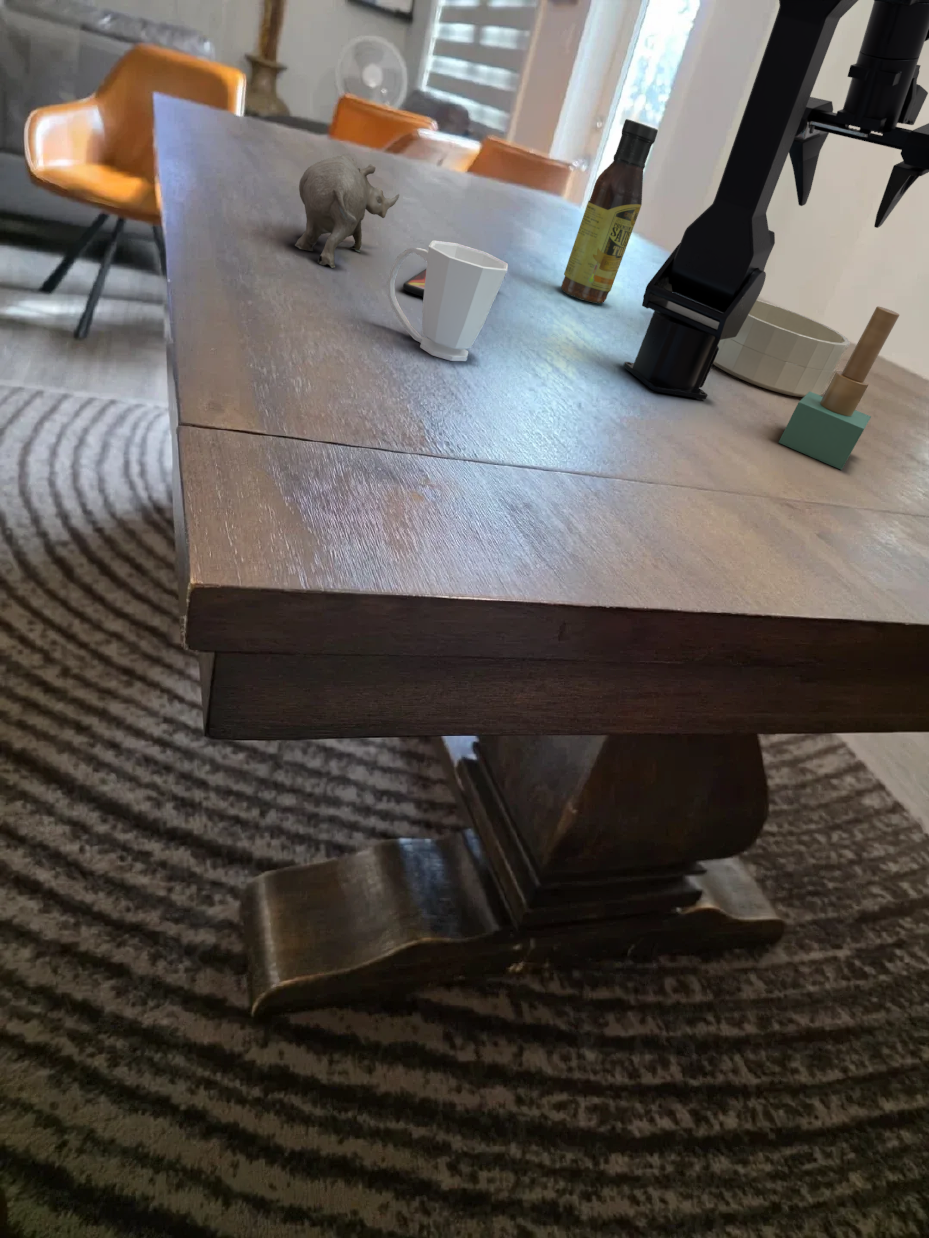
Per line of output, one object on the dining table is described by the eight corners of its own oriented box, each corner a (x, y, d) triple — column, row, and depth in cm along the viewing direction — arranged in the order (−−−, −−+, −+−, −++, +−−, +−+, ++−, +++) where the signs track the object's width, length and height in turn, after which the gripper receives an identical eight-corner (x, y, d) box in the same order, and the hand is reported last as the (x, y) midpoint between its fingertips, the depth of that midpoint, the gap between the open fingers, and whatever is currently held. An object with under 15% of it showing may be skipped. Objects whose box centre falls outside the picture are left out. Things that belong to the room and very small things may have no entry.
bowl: (745, 390, 92) (773, 331, 88) (672, 340, 103) (695, 285, 99) (847, 408, 98) (877, 353, 95) (768, 358, 109) (792, 307, 106)
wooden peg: (834, 414, 76) (888, 313, 71) (813, 400, 78) (863, 301, 74) (858, 418, 77) (912, 319, 73) (836, 404, 80) (888, 307, 75)
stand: (778, 442, 78) (798, 401, 76) (789, 430, 83) (809, 391, 81) (841, 470, 77) (864, 429, 75) (849, 455, 82) (871, 416, 79)
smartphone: (401, 283, 86) (434, 261, 98) (399, 291, 86) (433, 268, 99) (472, 305, 85) (496, 280, 98) (470, 314, 86) (494, 288, 98)
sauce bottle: (594, 308, 105) (656, 128, 95) (550, 289, 107) (606, 112, 97) (613, 304, 111) (674, 134, 100) (572, 287, 113) (627, 118, 102)
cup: (461, 373, 70) (489, 272, 66) (359, 329, 72) (379, 228, 68) (496, 360, 76) (523, 267, 71) (400, 319, 78) (421, 226, 74)
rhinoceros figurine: (256, 221, 83) (322, 86, 84) (282, 283, 97) (338, 167, 98) (330, 254, 83) (395, 119, 84) (345, 312, 97) (401, 196, 98)
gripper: (1013, 58, 86) (949, 220, 97) (840, 29, 95) (799, 180, 106) (970, 76, 80) (906, 246, 91) (790, 42, 89) (752, 200, 100)
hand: (839, 215), depth 97 cm, fingers open, 9 cm apart
